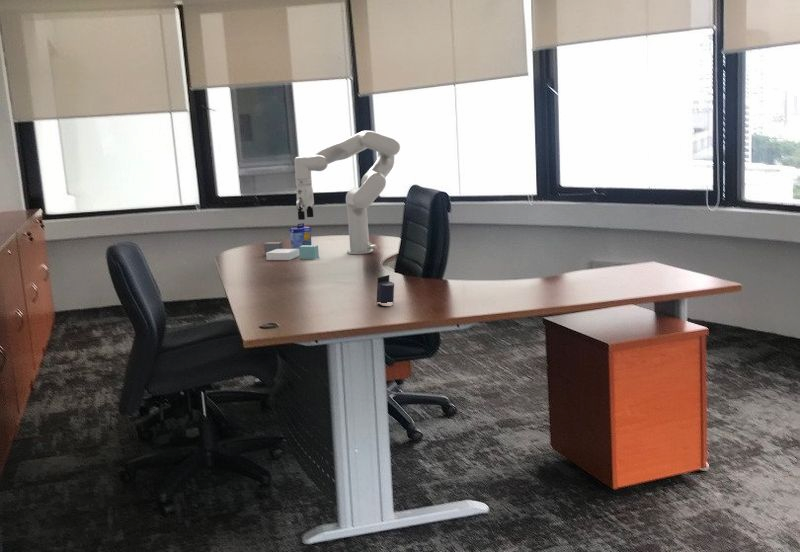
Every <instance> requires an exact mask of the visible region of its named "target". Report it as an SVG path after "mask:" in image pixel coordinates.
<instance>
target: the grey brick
mask: <svg viewBox="0 0 800 552" xmlns="http://www.w3.org/2000/svg"><path fill="white" fill-rule="evenodd" d="M263 246H264V247H263V248H264V256H266V253H267V252H270V251H273V250H275V249H284V245H283V241H282V242H281V241H273V242H272V241H268V242H265V243H263Z"/></svg>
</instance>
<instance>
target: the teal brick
mask: <svg viewBox="0 0 800 552" xmlns="http://www.w3.org/2000/svg"><path fill="white" fill-rule="evenodd" d="M299 253H300V256H299V259H301V260H307V259H308V260H315V259H318V258H319V257H320V256H319V255H320V254H319V244H312V245H302V246H300V247H299Z"/></svg>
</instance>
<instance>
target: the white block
mask: <svg viewBox="0 0 800 552" xmlns="http://www.w3.org/2000/svg"><path fill="white" fill-rule="evenodd" d="M265 256H266V258H265V259H266V261H289V260H290V261H291V260H292V259H293V260H294V259H295V258H298V257H300V253H299V249H291V248H283V249H275V250H273V251H270V252H267V253H266V255H265Z"/></svg>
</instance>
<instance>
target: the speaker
mask: <svg viewBox="0 0 800 552" xmlns="http://www.w3.org/2000/svg"><path fill="white" fill-rule="evenodd" d="M376 289H377V291H376V303H377V302H381V303H387V302H393V303H394V297H395V283H394V282H392V281H390V274H387V275H382V276H378V277H377V287H376Z"/></svg>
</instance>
